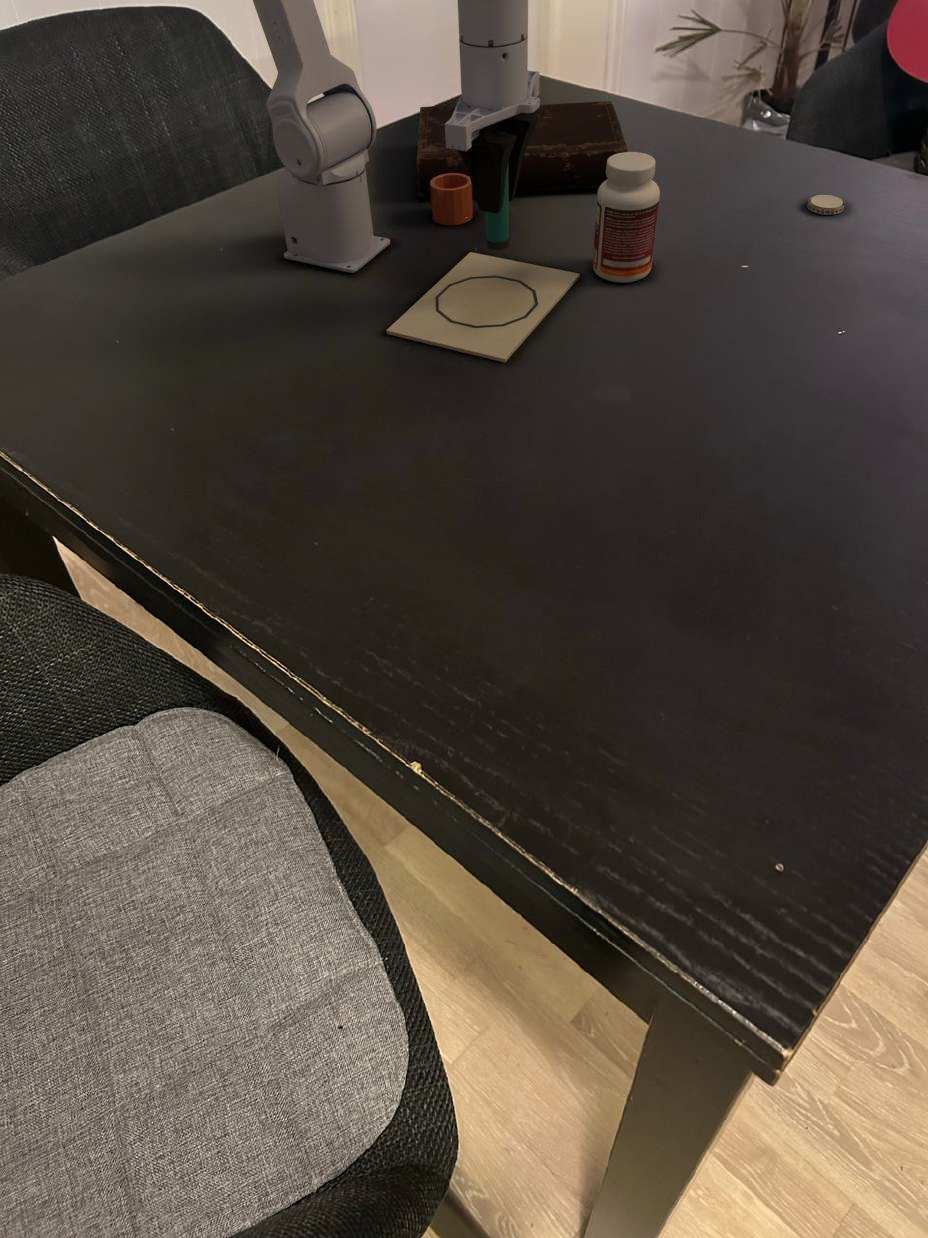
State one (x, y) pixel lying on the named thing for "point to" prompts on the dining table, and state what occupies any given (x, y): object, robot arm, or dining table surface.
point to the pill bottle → (626, 218)
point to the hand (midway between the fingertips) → (496, 204)
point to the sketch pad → (484, 306)
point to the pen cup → (451, 199)
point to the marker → (499, 223)
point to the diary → (534, 147)
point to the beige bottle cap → (826, 204)
